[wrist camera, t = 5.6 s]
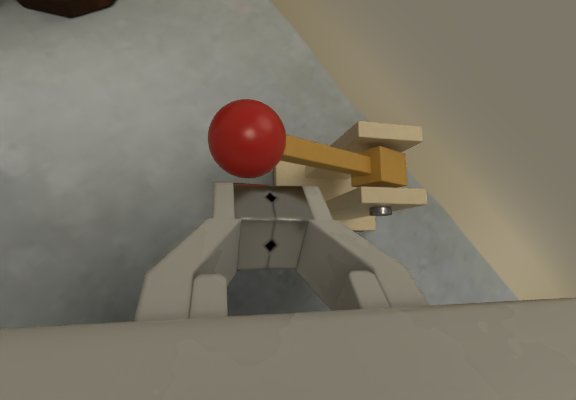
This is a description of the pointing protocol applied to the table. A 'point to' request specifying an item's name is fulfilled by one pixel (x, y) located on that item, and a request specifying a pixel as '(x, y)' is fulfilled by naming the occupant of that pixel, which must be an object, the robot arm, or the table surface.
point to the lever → (292, 149)
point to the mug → (66, 5)
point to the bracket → (337, 186)
